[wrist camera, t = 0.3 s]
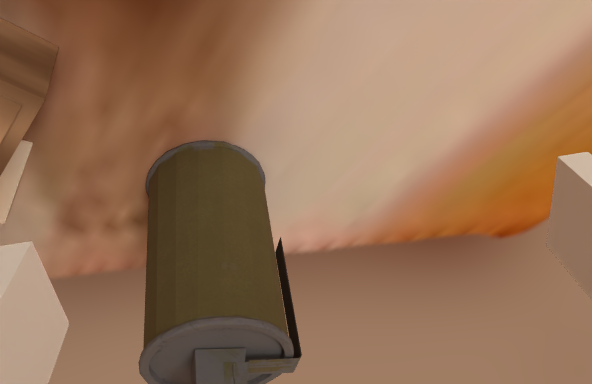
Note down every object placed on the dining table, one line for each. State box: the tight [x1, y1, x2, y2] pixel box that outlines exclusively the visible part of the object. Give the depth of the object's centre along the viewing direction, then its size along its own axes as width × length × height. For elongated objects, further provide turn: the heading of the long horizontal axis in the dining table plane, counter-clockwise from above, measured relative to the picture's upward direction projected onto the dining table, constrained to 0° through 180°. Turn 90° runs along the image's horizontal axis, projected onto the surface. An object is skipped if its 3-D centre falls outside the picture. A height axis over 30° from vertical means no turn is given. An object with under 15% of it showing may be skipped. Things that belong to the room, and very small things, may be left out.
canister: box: [139, 141, 302, 384], centre depth 43 cm, size 11×10×20 cm
